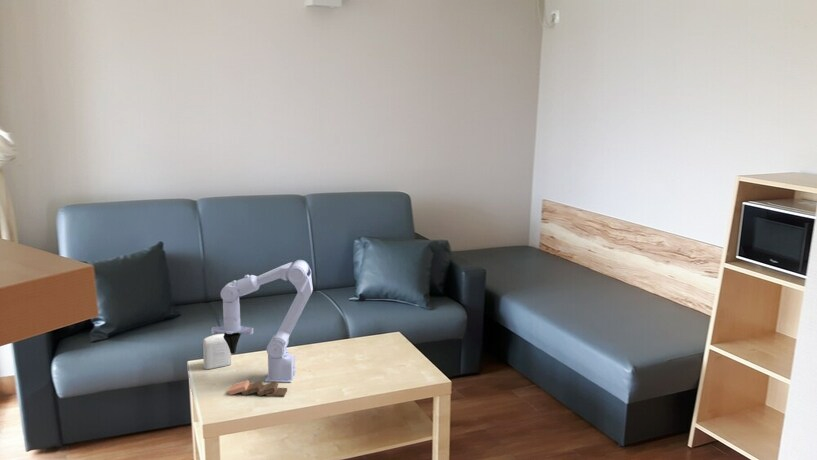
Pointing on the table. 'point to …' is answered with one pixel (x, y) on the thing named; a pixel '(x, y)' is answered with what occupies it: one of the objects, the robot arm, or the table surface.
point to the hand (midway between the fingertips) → (233, 352)
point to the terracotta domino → (238, 387)
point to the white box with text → (216, 352)
